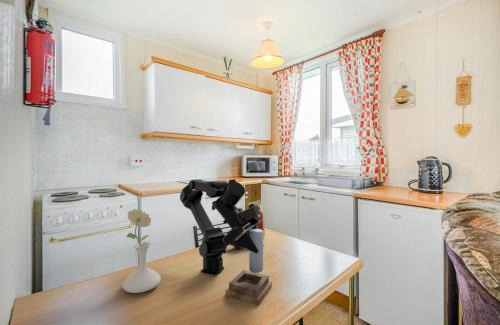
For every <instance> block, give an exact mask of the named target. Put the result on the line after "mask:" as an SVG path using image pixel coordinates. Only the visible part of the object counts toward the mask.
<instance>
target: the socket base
mask: <svg viewBox="0 0 500 325" xmlns="http://www.w3.org/2000/svg"><path fill="white" fill-rule="evenodd" d="M269 278H270V276H269V275H266V274H261V273H253V272H251V271H250V270H248V271H247V270H245V269H242V270H241V271H240V272H239V273H238V274H237V275H235V277H234V278H233V279H232V280H231V281H230V282H229V283H228V287H227V289H225V292H224V293H225V296H226V297H230V298H233V299H237V300H240V301H242V302H243V301H244V302H248V303H251V304H254V305H257V306H260V304H261V303H262V301H263V299H264V298H265V297H266V295H267V294H268V292H269V291H270V290H271V288H272V287H273V284H272V283H273V282H272V281H270V279H269Z"/></svg>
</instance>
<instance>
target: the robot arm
mask: <svg viewBox="0 0 500 325" xmlns="http://www.w3.org/2000/svg"><path fill="white" fill-rule="evenodd" d="M203 192H204V193H205V195H206V196H207V197H209V198H210V199H216V200H214V201H212V202H211V210H212V211H215V210H216V211H217V213H219V214H220V215H221V217H222V219H224V220H223V221H222V222H223V224H224V225H226V224H227V225H228V226H229V227H230V228H231V229H230V230H229V231H227V233H224V232H223V229H222V228H221V227H214V225H213V223H212V221H211V220H210V217H209V216H208V214H207V212H206V210H205V208H204V206H203V205H202V203H201V201H202V198H203V195H204V193H203ZM245 194H246V188H245V186H243V185H242V184H241V183H240V182H237V180H236V179H235V178H234V179H233V178H232V179H229V180H228V181H227V180H213V181H211V180H210V181H208V180H203V179H191V180H189V182H188V184H187V185H185V186H184V187H183V188H182V189H181V192H180V194H179V200H180V202H181V204H182V205H183V206H184V208H186V209H188V210H190V212H191V214H192V216H193V217H194V220H195V222H196V224H197V225H198V228H199V230H200V232H201V234H202V239H201V245H200V246H199V248H198V253H199V256H201V257H202V269H201V270H200V273H202V274H206V275H210V276H216V275H218V274H219V273H220V272H222V271H223V270H224V269H225V266H224V258H223V254H226V252H227V248H228V246H231V245H230V244H231V243H232V241H233V240H234V239H235V240H236V241H235V242H234V243H233V244H236V245H239V246H241V247H243V248H244V249H246V250H248V251H249V250H250V251H252V252H254V253H256V254H257V253H258V252H259V251H258V249H257V247H256V246H255V244H254V243H253V241H252V240H251V238H250V230H252V229H258V222H259V221H260V220H261V219H260V218H259V216H258V215H260V211H259V209H260V207H258V205H256V204H255V203H253V204H250V205H249V204H248V208H246V209H243V208H242V207H239V208H238V207H237V206H236V205H237V204H238V203H239V202H240V200H241V199H242V198H243V197H244V195H245ZM264 247H265V245H264V244H263V248H264Z"/></svg>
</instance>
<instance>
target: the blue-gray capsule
mask: <svg viewBox="0 0 500 325" xmlns="http://www.w3.org/2000/svg"><path fill="white" fill-rule="evenodd" d="M250 238H251V240H252V241H253V243H254V244H255V246H256V247H257V249H258V251H259V252H258V253H257V254H256V253H254V252H252V251H250V250H248V251H249V252H248V253H249V254H248V255H249V258H248V259H249V260H248V261H249V262H248V263H249V264H248V269H249V270H248V271H249V272H253V273H258V274H260V273H262V272H263V270H264V247H263V245H264V241H263V230H261V229H252V230H250Z"/></svg>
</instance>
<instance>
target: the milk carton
mask: <svg viewBox="0 0 500 325" xmlns="http://www.w3.org/2000/svg"><path fill="white" fill-rule="evenodd" d="M253 203H255V204H256V205H258V207H260V209H259V211H260V215H258V216H259V218H260V219H261V220H260V221H259V222H258V229H261V230H263V240H265V237H266V236H265V235H266V230H265V229H266V226H265V217H264V212H263V208H262V204H261V203H262V199H259V200H256V201H251V202H247V204H248V206H249V205H250V204H253ZM264 236H265V237H264Z"/></svg>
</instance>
